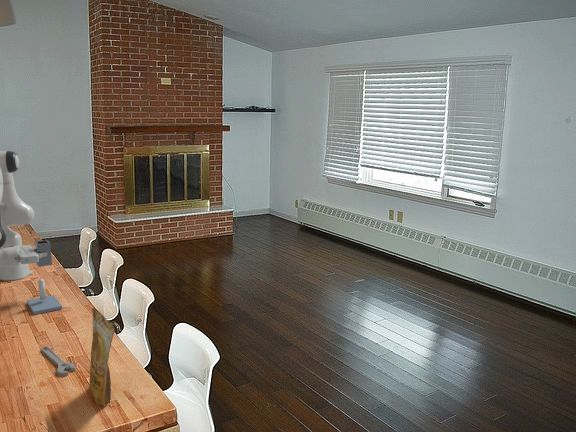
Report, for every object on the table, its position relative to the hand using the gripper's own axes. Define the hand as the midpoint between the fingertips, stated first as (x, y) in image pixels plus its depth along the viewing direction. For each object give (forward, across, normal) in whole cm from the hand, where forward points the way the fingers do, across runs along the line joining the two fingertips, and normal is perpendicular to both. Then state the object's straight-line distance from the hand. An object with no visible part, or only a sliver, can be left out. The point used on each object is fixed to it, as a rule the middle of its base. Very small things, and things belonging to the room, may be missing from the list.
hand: (45, 251), depth 260 cm
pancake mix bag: (-5, -103, +22) cm, 105 cm away
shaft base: (-5, -14, +22) cm, 26 cm away
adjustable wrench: (-12, -72, +22) cm, 76 cm away
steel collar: (-1, 0, +6) cm, 6 cm away
